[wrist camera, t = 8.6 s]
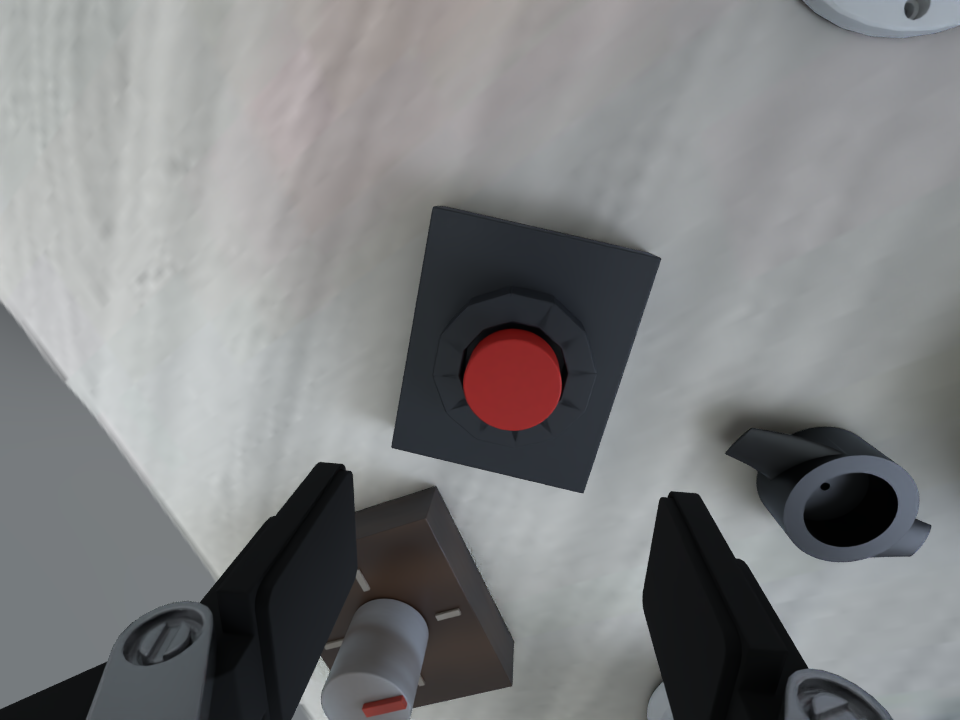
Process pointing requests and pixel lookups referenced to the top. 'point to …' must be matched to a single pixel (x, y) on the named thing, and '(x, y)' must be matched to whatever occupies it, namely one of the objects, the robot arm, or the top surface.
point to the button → (512, 380)
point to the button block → (528, 306)
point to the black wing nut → (834, 493)
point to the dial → (377, 664)
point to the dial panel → (430, 596)
